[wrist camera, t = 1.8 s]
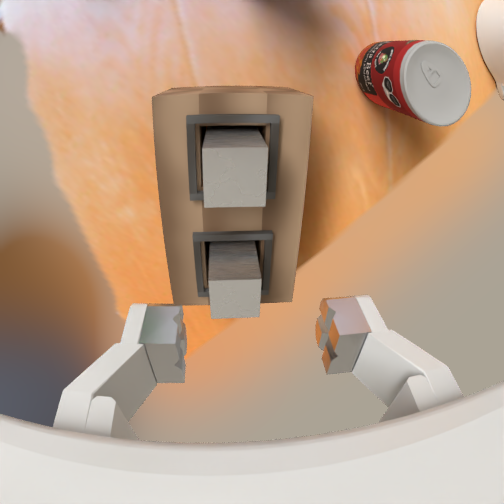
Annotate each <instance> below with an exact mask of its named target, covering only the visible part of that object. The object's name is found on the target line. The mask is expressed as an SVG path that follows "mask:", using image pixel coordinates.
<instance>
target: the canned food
mask: <svg viewBox="0 0 504 504" xmlns="http://www.w3.org/2000/svg"><path fill="white" fill-rule="evenodd" d="M355 74H356V79H357V82H358V84H359V86H360V88H361V90H362V91H363V92H364V94H365V95H366V96H367V97H368V98H369V99H370V100H372V101H373V102H374V103H376V104H378V105H381V106H384V107H386V108H389V109H392V110H395V111H397V112H400V113H403V114H405V115H408V116H410V117H413V118H415V119H418V120H420V121H423V122H426V123H428V124H431V125H435V126H449V125H451V124H454V123H455V122H457V121H458V120H459V119H460V118H461V117H462V116H463V115H464V113H465V112H466V110H467V108H468V105H469V102H470V97H471V82H470V77H469V73H468V71H467V68H466V66H465V64H464V62H463V61H462V59H461V58H460V56H459V55H458V54H457V53H456V52H455V51H454V50H453V49H451V48H450V47H449V46H447V45H445V44H443V43H439V42H435V41H424V40H409V41H387V42H376V43H372V44H370V45H369V46H367V47H366V48H365V49H363V50H362V52H361V53H360V54H359V56H358V58H357V61H356V65H355Z"/></svg>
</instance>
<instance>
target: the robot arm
mask: <svg viewBox="0 0 504 504" xmlns="http://www.w3.org/2000/svg"><path fill="white" fill-rule="evenodd" d="M476 29H477V38H478V43H479V47H480V50H481V54H482V56H483V59H484V61H485V63H486V65H487V67H488V69H489V71H490V72H491V74H492V75H493V77H494V79H495V81H496V85H497V89H498V92H499V95H500V97H501V99H502V100H504V0H484V1H483V2H482V4H481V5H480V7H479V10H478V14H477V21H476ZM320 311H321V315H320V316H319V318H317V322H316V340H317V344H318V347H319V348H320V349H321V350H323V351H324V352H323V355H322V361H323V364H324V367H325V371H326V374H337V373H346V372H352V373H353V374H354V375H355V376H356V377H357V378H358V379H359V380H360V381H361V382H362V383H363V384H364V385H365V386H366V387H367V388H368V389H369V390H370V391H371V392H372V393H374V394H375V395H376V396H377V397H378V398H379V399H380V400H381V401H382V402H383V403H384V404H385V405H386V406H387V407H388V409H387V411H386V412H385V414H384V415H383V417H382V418H381V419H380V421H379V423H375V424H371V425H366V426H362V427H357V428H352V429H346V430H341V431H335V432H329V433H324V434H317V435H310V436H302V437H294V438H285V439H275V440H264V441H249V442H228V443H176V442H156V441H142V440H139V438H138V437H137V436H136V434H135V432H134V431H133V429H132V428H131V426H130V424H129V423H128V422H129V420H130V419H131V418H132V417H133V415H134V414H135V413H136V411H137V410H138V409H139V407H140V406H141V405H142V404H143V402H144V401H145V400H146V398H147V397H148V396H149V394H150V393H151V392H152V390H153V389H154V388H155V386H156V385H157V383H184V381H185V380H184V379H185V366H186V365H185V360H184V356H185V354H186V350H187V336H186V327H185V324H184V323H183V309H182V305H181V304H150V303H149V304H137V303H133V304H132V305H131V307H130V309H129V313H128V316H127V320H126V323H125V327H124V331H123V335H122V338H121V342H120V343H115V344H114V345H113V346H112V347H111V348H110V349H109V350H108V351H106V352H105V353H104V354H103V355H102V356H101V357H100V358H98V360H96V361H95V362H94V363H93V364H92V365H91V366H90V367H88V368H87V369H86V370H85V371H84V372H83V373H82V374H81V375H80V376H78V377H77V378H76V379H75V380H74V381H73V382H72V383H71V384H70V385H69V386H67V387H66V388H65V389H64V390H63V393H62V396H61V400H60V403H59V407H58V410H57V414H56V417H55V421H54V425H53V427H48V426H44V425H39V424H35V423H31V422H27V421H23V420H19V419H16V418H13V417H9V416H6V415H2V414H0V504H504V381H502V382H499V383H497V384H495V385H493V386H490V387H488V388H485V389H483V390H481V391H478V392H476V393H473V394H470V395H468V396H465V397H464V396H463V394H462V393H461V391H460V389H459V387H458V385H457V383H456V381H455V379H454V377H453V375H452V373H451V372H450V370H449V368H448V367H447V366H446V365H445V364H443V363H442V362H440V361H439V360H437V359H436V358H434V357H433V356H431V355H430V354H428V353H426V352H425V351H423V350H422V349H420V348H419V347H418V346H416V345H414V344H413V343H412V342H410V341H409V340H407V339H405V338H404V337H402V336H401V335H399V334H398V333H396V332H395V331H393V330H388V329H387V327H386V325H385V323H384V321H383V319H382V318H381V316H380V314H379V312H378V310H377V308H376V306H375V305H374V303H373V301H372V299H371V297H370V296H369V295H359V296H353V297H352V296H350V297H339V298H324V299H322V301H321V304H320Z"/></svg>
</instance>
